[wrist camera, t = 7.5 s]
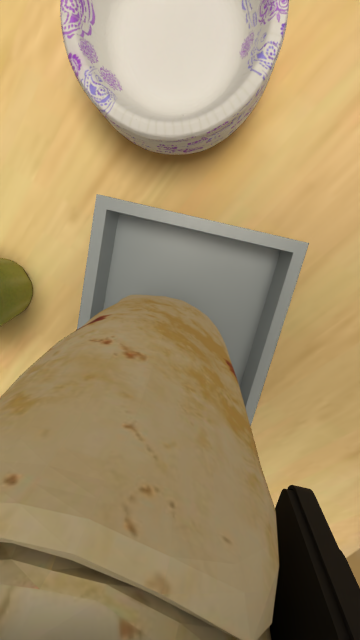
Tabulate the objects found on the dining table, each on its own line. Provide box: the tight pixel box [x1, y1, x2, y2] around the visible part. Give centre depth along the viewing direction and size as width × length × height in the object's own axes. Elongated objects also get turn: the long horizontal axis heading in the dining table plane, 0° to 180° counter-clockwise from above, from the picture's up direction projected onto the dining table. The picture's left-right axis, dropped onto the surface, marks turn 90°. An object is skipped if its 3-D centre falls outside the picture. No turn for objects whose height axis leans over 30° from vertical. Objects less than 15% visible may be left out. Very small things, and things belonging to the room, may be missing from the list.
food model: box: [0, 295, 279, 640], centre depth 14 cm, size 10×7×20 cm
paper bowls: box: [60, 0, 289, 155], centre depth 24 cm, size 15×15×8 cm
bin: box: [77, 194, 309, 426], centre depth 31 cm, size 18×18×5 cm
